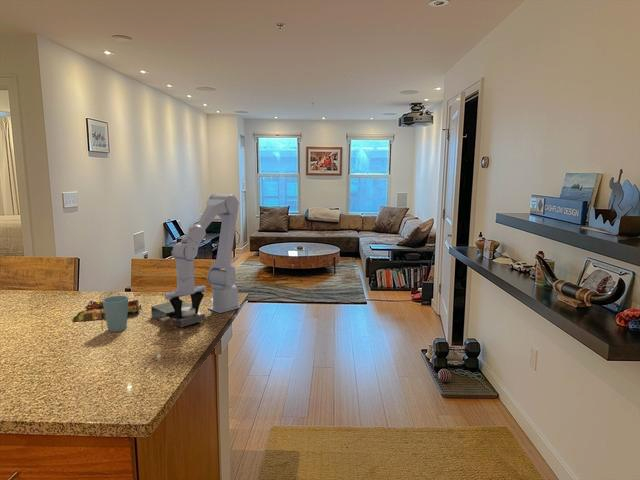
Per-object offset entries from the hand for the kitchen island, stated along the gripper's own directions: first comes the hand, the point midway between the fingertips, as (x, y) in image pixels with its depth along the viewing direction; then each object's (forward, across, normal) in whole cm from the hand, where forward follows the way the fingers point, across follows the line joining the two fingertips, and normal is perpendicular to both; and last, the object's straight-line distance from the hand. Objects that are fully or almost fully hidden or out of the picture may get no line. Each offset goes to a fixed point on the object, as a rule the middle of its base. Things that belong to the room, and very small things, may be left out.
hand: (187, 315), depth 140 cm
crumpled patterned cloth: (+4, +13, -32) cm, 34 cm away
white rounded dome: (-1, 0, 0) cm, 1 cm away
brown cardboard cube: (+3, +8, 0) cm, 9 cm away
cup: (+3, +18, -12) cm, 23 cm away
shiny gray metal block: (+3, 0, -10) cm, 10 cm away
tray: (+2, 0, -1) cm, 2 cm away
